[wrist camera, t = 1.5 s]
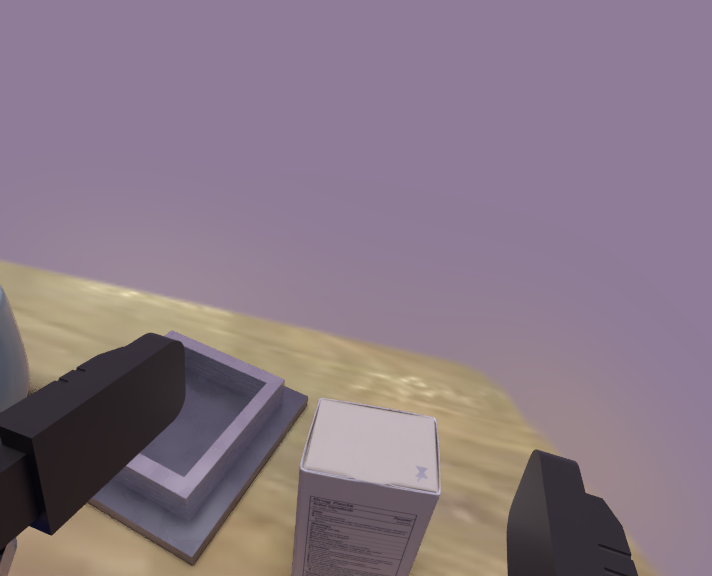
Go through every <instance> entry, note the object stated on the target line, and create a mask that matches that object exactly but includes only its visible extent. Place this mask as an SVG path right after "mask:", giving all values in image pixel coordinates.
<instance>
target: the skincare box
mask: <svg viewBox="0 0 712 576" xmlns="http://www.w3.org/2000/svg"><path fill="white" fill-rule="evenodd" d="M440 493H441V490H440V456H439V438H438V429H437V420H436V419H435V418H433V417H429V416H424V415H420V414H415V413H410V412H405V411H400V410H394V409H389V408H383V407H377V406H371V405H365V404H359V403H353V402H346V401H340V400H332V399H326V398H320V399H319V401H318V404H317V408H316V411H315V414H314V417H313V420H312V423H311V426H310V430H309V433H308V437H307V440H306V443H305V447H304V451H303V455H302V459H301V462H300V470H299V485H298V498H297V511H296V525H295V537H294V552H293V563H292V576H408V575H409V573H410V570H411V568H412V565H413V562H414V560H415V557H416V555H417V552H418V550H419V547H420V545H421V542H422V539H423V537H424V534H425V532H426V529H427V527H428V524H429V521H430V519H431V516H432V514H433V511H434V509H435V506H436V504H437V501H438V499H439V496H440Z"/></svg>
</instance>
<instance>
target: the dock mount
mask: <svg viewBox="0 0 712 576" xmlns="http://www.w3.org/2000/svg"><path fill="white" fill-rule="evenodd" d="M164 337H168V338H171V339H174V340H178V341H180V342H182V344H183V345H184V349H185V385H186V396H185V401H184V405H183V407H182V409H181V411H180V413H179V415H178V416H177V418H176V419H175V420H174V421H173V422H172V423H171V424H170V425H169V426H168V427H167V428H166V429H165V430H163V431H162V432H161V433H160V434H159V435H158V436H157V437H156V438H155V439H154V440H153V441H152V442H151V443H150V444H149V445H148V446H146V447H145V448H144V449H143V450H142V451H141V452H140V453H139V454H138V455H137V456H136V457H135V458H134V459H133V460H132V461H131V462H129V463H128V464H127V465H126V466H125V467H124V468H123V469H122V470H121V471H120V472H119V473H118V474H117V475H116V476H115V477H114V478H112V479H111V480H110V481H109V482H108V483H107V484H106V485H105V486H104V487H103V488H102V489H101V490H100V491H99V492H98V493H96V494H95V495H94V496H93V497H92V498H91V499H90V500H89V501H88V503H90V504H91V505H93V506H95V507H96V508H98V509H100V510H101V511H103V512H105V513H106V514H108V515H110V516H111V517H113V518H115V519H116V520H118V521H120V522H121V523H123V524H125V525H126V526H128V527H129V528H131V529H133V530H134V531H136V532H138V533H139V534H141V535H143V536H144V537H146V538H148V539H149V540H151V541H153V542H154V543H156V544H158V545H159V546H161V547H163V548H164V549H166V550H168V551H169V552H171V553H173V554H174V555H176V556H178V557H179V558H181V559H183V560H184V561H186V562H188V563H189V564H191V565H194V563H195V562H196V560H197V559H198V558H199V556H200V555H201V553H202V552H203V551H204V549H205V548H206V546H207V545H208V544H209V542H210V541H211V539H212V538H213V537H214V535H215V534H216V532H217V531H218V530H219V528H220V527H221V525H222V524H223V522H224V521H225V520H226V518H227V517H228V515H229V514H230V513H231V511H232V510H233V508H234V507H235V506H236V504H237V503H238V501H239V500H240V499H241V497H242V496H243V494H244V493H245V492H246V490H247V489H248V487H249V486H250V485H251V483H252V482H253V480H254V479H255V477H256V476H257V475H258V473H259V472H260V470H261V469H262V468H263V466H264V465H265V463H266V462H267V461H268V459H269V458H270V456H271V455H272V454H273V452H274V451H275V449H276V448H277V447H278V445H279V444H280V442H281V441H282V439H283V438H284V437H285V435H286V434H287V432H288V431H289V430H290V428H291V427H292V425H293V424H294V423H295V421H296V420H297V418H298V417H299V416H300V414H301V413H302V411H303V410H304V409H305V407H306V406H307V402H308V396H306V395H303V394H301V393H299V392H297V391H294V390H292V389H290V388H287V387H285V386H284V383H285V380H284V379H282V378H280V377H277V376H275V375H273V374H271V373H268V372H266V371H264V370H261V369H259V368H257V367H255V366H252V365H250V364H248V363H245V362H243V361H241V360H239V359H236V358H234V357H232V356H229V355H227V354H225V353H223V352H220V351H218V350H216V349H213V348H211V347H209V346H207V345H204V344H202V343H200V342H197V341H195V340H193V339H191V338H188V337H186V336H184V335H181V334H179V333H177V332H175V331H170V332H169V333H168V334H166V335H165V336H164Z"/></svg>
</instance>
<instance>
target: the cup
mask: <svg viewBox="0 0 712 576" xmlns="http://www.w3.org/2000/svg"><path fill="white" fill-rule="evenodd" d="M29 386H30V371H29V364H28V359H27V355H26V351H25V348H24V344H23V341H22V338H21V334H20V331H19V328H18V326H17V323H16V320H15V317H14V314H13V312H12V309H11V306H10V303H9V301H8V298H7V296H6V294H5V292H4V290H3V288H2V287H1V286H0V413H1V412H3V411H4V410H6V409H8V408H9V407H11V406H13V405H14V404H16V403H18V402H19V401H21V400H23V399H24V398H26V397H27V396H28V392H29Z"/></svg>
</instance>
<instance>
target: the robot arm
mask: <svg viewBox="0 0 712 576" xmlns="http://www.w3.org/2000/svg"><path fill="white" fill-rule="evenodd" d="M185 396H186V385H185V349H184V345H183V344H182V342H180V341H178V340H174V339H171V338H168V337H164V336H161V335H158V334H154V333H147V334H145V335H143V336H142V337H140V338H138V339H137V340H135V341H133V342H132V343H130V344H129V345H127V346H125V347H121V348H117V349H114V350H111V351H108V352H105V353H102V354H99V355H97V356H95V357H94V358H92V359H90V360H89V361H87V362H85V363H83V364H82V365H80V366H78V367H77V369H76V370H72V371H70V372H68V373H67V374H65V375H63V376H62V377H60V378H59V380H58V381H53V382H51V383H50V384H48V385H46V386H45V387H43V388H41V389H40V390H38V391H36V392H35V393H33V394H31V395H30V396H28V397H26V398H24V399H23V400H21V401H19V402H18V403H16V404H14V405H13V406H11V407H9V408H8V409H6V410H4V411H3V412H1V413H0V576H8V573H9V570H10V567H11V564H12V561H13V558H14V555H15V552H16V548H17V540H16V537H17V536H18V535H19V534H20V533H21V532H22V531H23V530H25V529H26V528H27V527H28V526H31V527H33V528H35V529H37V530H40V531H42V532H44V533H46V534H49V535H51V536H52V535H53V534H54V533H55V532H56V531H57V530H58V529H59V528H60V527H61V526H62V525H64V524H65V523H66V522H67V521H68V520H69V519H70V518H71V517H72V516H73V515H74V514H75V513H76V512H77V511H78V510H79V509H81V508H82V507H83V506H84V505H85V504H86V503H87V502H88V501H89V500H90V499H91V498H92V497H93V496H94V495H95V494H96V493H98V492H99V491H100V490H101V489H102V488H103V487H104V486H105V485H106V484H107V483H108V482H109V481H110V480H111V479H112V478H114V477H115V476H116V475H117V474H118V473H119V472H120V471H121V470H122V469H123V468H124V467H125V466H126V465H127V464H128V463H129V462H131V461H132V460H133V459H134V458H135V457H136V456H137V455H138V454H139V453H140V452H141V451H142V450H143V449H144V448H145V447H146V446H148V445H149V444H150V443H151V442H152V441H153V440H154V439H155V438H156V437H157V436H158V435H159V434H160V433H161V432H162V431H163V430H165V429H166V428H167V427H168V426H169V425H170V424H171V423H172V422H173V421H174V420H175V419H176V418H177V416H178V415H179V413H180V411H181V409H182V407H183V405H184V401H185ZM507 564H508V576H638V574H637V571H636V568H635V565H634V561H633V560H631V552H630V549H629V546H628V543H627V539H626V536H625V533H624V530H623V527H622V525H621V524H620V522H619V521H618V519H617V518H616V517H615V515H614V514H613V512H612V511H611V510H610V508H609V507H608V505H607V504H606V503H605V501H604V500H603V498H599V497H596V496H593V495H590V494H587V493H585V489H584V485H583V481H582V477H581V473H580V469H579V466H578V464H577V462H576V461H573V460H570V459H566V458H563V457H560V456H556V455H553V454H550V453H546V452H543V451H540V450H534V451H533V452H532V454H531V456H530V458H529V461H528V464H527V466H526V469H525V471H524V474H523V476H522V479H521V481H520V484H519V487H518V489H517V492H516V494H515V497H514V499H513V502H512V505H511V508H510V512H509V517H508V524H507Z"/></svg>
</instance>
